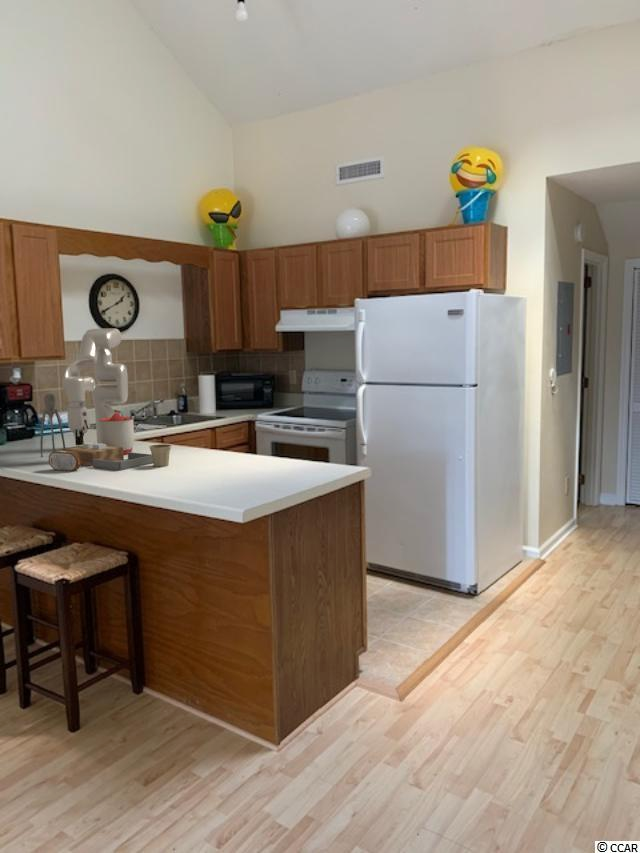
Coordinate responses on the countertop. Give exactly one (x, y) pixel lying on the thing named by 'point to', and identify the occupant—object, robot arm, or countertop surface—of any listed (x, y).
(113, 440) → the citrus juicer
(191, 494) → the countertop surface
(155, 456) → the flower pot
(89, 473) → the countertop surface
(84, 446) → the tile
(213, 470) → the countertop surface
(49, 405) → the juicer
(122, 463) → the tray
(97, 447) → the tile
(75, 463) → the tin
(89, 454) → the board
